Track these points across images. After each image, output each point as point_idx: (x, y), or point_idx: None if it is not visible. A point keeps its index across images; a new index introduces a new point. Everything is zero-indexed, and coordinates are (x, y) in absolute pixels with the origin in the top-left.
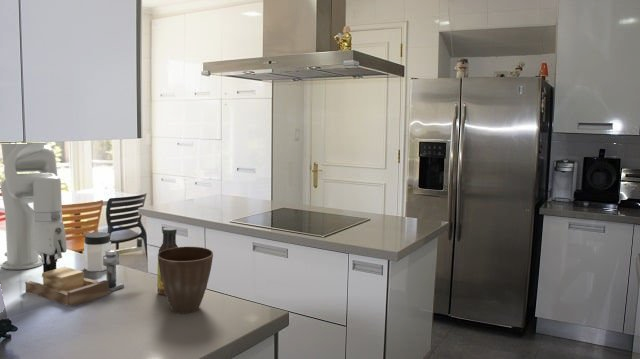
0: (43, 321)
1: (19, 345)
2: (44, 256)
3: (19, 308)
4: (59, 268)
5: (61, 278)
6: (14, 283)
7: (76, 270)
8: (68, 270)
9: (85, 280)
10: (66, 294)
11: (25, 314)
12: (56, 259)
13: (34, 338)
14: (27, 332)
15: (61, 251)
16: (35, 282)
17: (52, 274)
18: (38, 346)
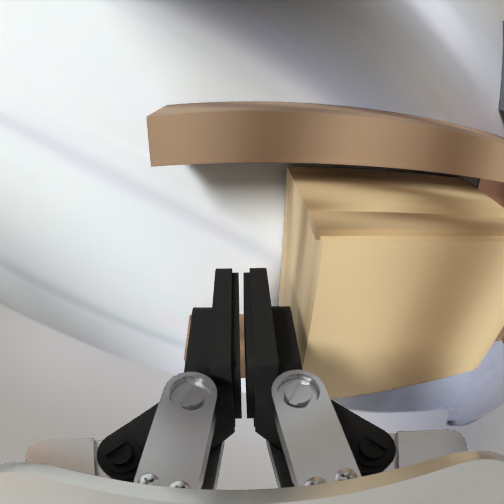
0: (469, 380)
1: (475, 414)
2: (215, 483)
3: (352, 397)
4: (326, 305)
5: (473, 365)
6: (30, 297)
7: (501, 252)
8: (447, 289)
9: (495, 178)
10: (496, 339)
11: (403, 396)
12: (362, 426)
13: (485, 400)
14: (464, 404)
15: (401, 478)
16: (243, 361)
17: (395, 384)
18: (501, 399)
